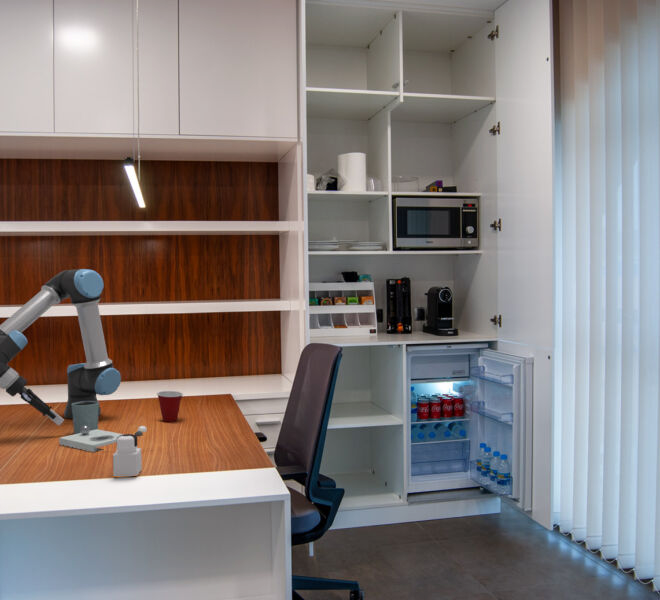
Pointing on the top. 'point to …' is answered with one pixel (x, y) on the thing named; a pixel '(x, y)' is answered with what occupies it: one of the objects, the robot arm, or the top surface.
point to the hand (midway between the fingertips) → (61, 422)
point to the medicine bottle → (127, 456)
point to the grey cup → (85, 415)
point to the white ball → (142, 429)
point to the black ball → (138, 433)
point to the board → (90, 440)
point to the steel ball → (85, 430)
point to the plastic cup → (169, 405)
